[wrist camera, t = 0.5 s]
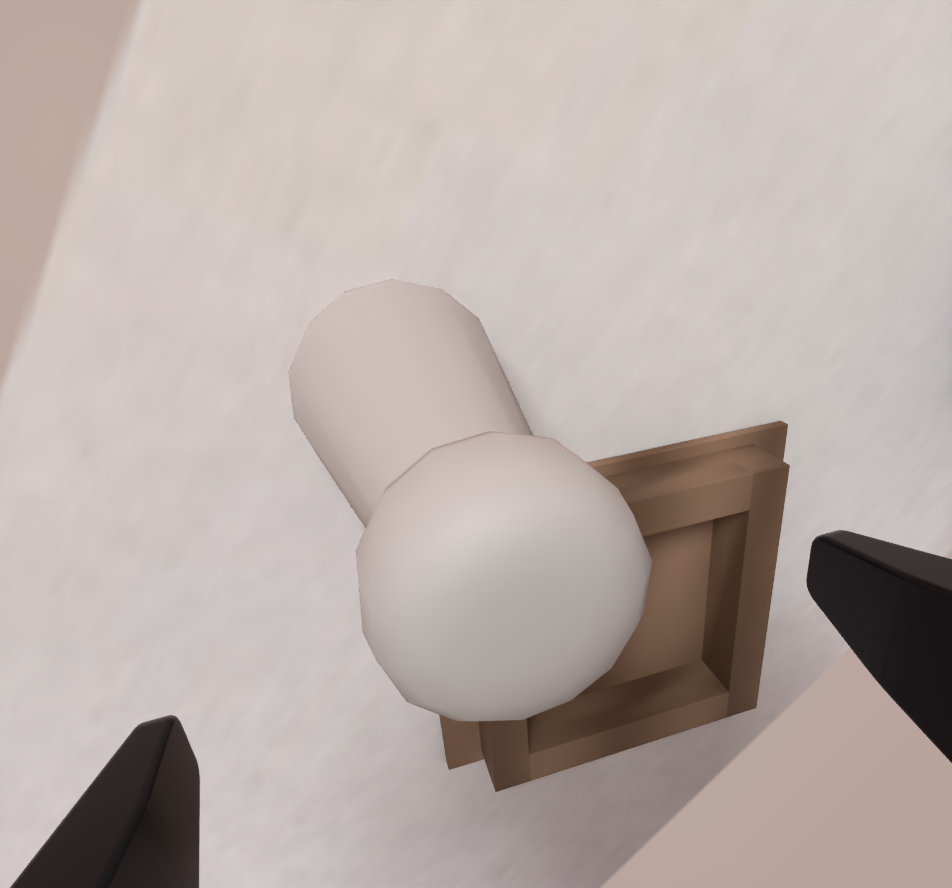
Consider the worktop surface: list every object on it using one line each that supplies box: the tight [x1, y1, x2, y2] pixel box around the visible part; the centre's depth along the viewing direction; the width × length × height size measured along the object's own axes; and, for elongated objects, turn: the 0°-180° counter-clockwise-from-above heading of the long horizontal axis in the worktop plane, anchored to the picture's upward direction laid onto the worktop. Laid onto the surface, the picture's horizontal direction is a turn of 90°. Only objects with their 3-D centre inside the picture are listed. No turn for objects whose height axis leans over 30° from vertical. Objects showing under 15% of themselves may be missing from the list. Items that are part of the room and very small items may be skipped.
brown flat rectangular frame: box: [439, 421, 790, 792], centre depth 25 cm, size 15×13×2 cm
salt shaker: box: [288, 279, 652, 721], centre depth 14 cm, size 6×6×13 cm
